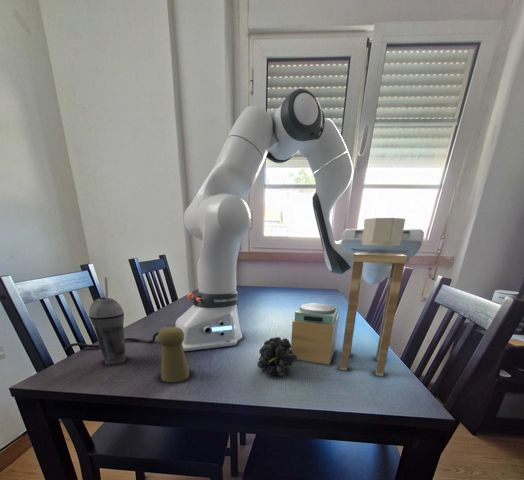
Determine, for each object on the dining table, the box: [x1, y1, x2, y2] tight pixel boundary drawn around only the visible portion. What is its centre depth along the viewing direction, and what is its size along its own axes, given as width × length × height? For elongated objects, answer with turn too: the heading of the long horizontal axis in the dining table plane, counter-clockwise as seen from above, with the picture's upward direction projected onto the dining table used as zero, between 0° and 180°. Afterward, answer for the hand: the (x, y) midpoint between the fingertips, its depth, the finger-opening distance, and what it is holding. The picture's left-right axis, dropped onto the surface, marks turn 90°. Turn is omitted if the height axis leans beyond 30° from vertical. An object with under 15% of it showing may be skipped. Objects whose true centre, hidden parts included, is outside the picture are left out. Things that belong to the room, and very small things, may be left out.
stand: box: [339, 253, 407, 377], centre depth 65 cm, size 12×10×26 cm
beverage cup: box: [88, 277, 126, 365], centre depth 66 cm, size 7×7×20 cm
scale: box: [290, 302, 340, 366], centre depth 73 cm, size 10×10×13 cm
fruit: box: [257, 336, 298, 376], centre depth 66 cm, size 9×8×15 cm
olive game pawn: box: [157, 326, 190, 383], centre depth 60 cm, size 6×6×11 cm
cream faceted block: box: [362, 217, 406, 245], centre depth 65 cm, size 19×8×5 cm, turn 159°
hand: (383, 224), depth 69 cm, fingers closed on cream faceted block
